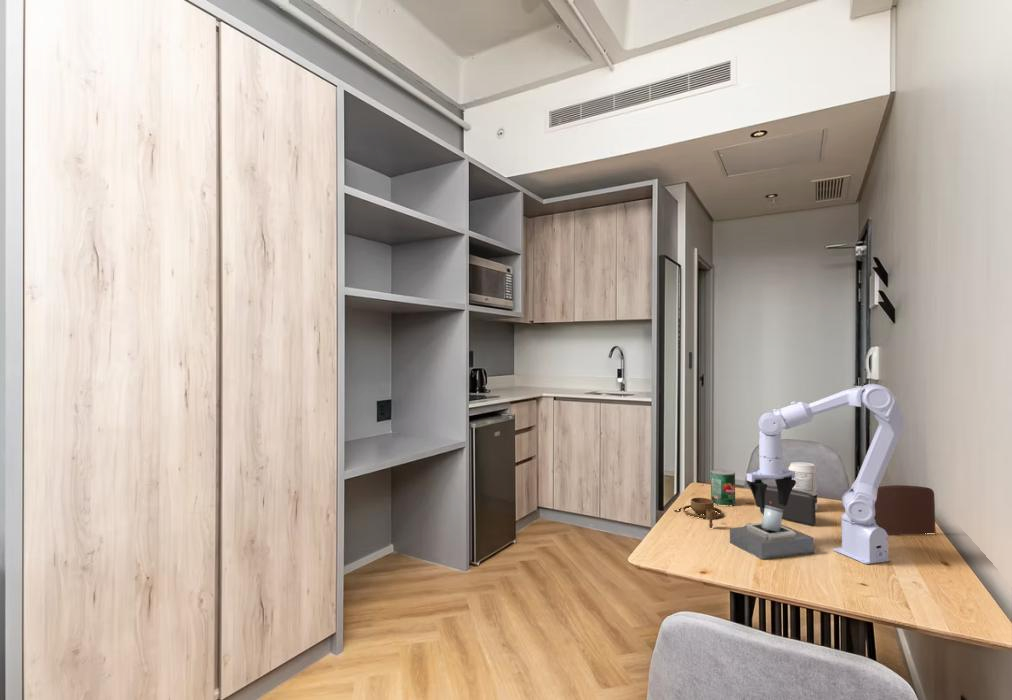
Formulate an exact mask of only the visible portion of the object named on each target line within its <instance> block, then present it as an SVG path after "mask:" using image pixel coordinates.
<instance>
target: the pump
mask: <svg viewBox="0 0 1012 700" xmlns="http://www.w3.org/2000/svg"><path fill="white" fill-rule="evenodd" d="M762 516H763V517H762V521H761V523H762V526H761V527H762V528H765V529H769V530H772V531H775V532H780V527H781V524H782V521H783V519H782V516H783V510H782V509H779V508H775V507H771V506H768V505H765V510H764V515H763V514H762Z"/></svg>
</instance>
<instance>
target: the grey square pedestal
mask: <svg viewBox="0 0 1012 700" xmlns="http://www.w3.org/2000/svg"><path fill="white" fill-rule="evenodd" d="M761 526H762V522H756V523H750V522H749V523H746V524H745V525H743V526H736V527H729V544H731V545H734V546H736V547H738V548H739V549H741V550H743V551H745V552H747V553H749V554H750V553H751V554H750V555H752V554H753V556H754V555H755V557H756V558H758V559H760V560H769V559H776V558H786V557H793V556H800V555H801V556H802V555H809V554H815V543H814V542H815V541H814V540H815V539H814V537H813V536H811V535H808V534H806V533H803V532H801V531H799V530H796V529H794V528H791V527H788V526H787V525H784V524H782V523H781V527H780V532H775V531H772V530H769V529H765V528H762V527H761Z"/></svg>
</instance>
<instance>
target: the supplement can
mask: <svg viewBox="0 0 1012 700" xmlns="http://www.w3.org/2000/svg"><path fill="white" fill-rule="evenodd" d="M788 470H791V471H795V478H794V479H793V480H795V481H796V484H795V486H794V487H793V489H795V490H799V491H803V492H806V493H809V494H811V495H813V496H814V498H815V511H817V510H818V469H817V468H816V465H815V464H814V463H810V462H803V461H792V462H790V464H789V466H788Z"/></svg>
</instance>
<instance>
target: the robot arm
mask: <svg viewBox="0 0 1012 700" xmlns="http://www.w3.org/2000/svg"><path fill="white" fill-rule="evenodd" d="M862 405H863V406H864V407H865V408H866V409H868V410H869V411H871V413H872V415H873V417H874V418H875V419H876V421H877V423H878V425H877V428H876V430H875V432H874V435H873V438H872V440H871V443H870V444H869V447H868V449H867V452H866V454H865V456H864V457H865V458H864V459H863V462H862V464H861V466H860V469H859V472H858V474H857V477H856V479H855V481H854V482H852V485H851V487H850V488H849V489H848V491H846V492H845V493H844V494H843V495H842V497H841V503H842V506H843V507H844V513H843V514H841V547H835V548H833V551H834V552H836V553H839V554H842V555H843V556H846V557H849V558H851V559H853V560H855V561H858V562H861V563H863V564H864V565H869V564H877V563H885V561H886V562H891V561H892V559H891V558H890V557H889V537H888V536H889V535H887V533H886V531H885V530H884V529H883V528H881V527H879V526H878V525H877V524H876V523H875V519H874V517H875V502H876V499H877V491H878V488H879V487H880V485H881V483H882V480H883V478H884V475H885V473H886V471H887V468H888V465H889V464H890V461H891V458H892V456H893V454H894V452H895V449H896V447H897V444H898V442H899V440H900V437H901V435H902V432H903V430H904V428H905V420H904V417H903V414H902V411H901V408H900V405H899V400H898V398H897V397H896V395H894V394H893V392H892V391H891V390H890V389H889V388H888V387H885V386H883V385H880V384H876V383H868V384H865V385H863V386H856V387H851V388H849V389H844V390H842V391H840V392H835V393H834V394H832V395H831V394H830V395H829V396H825V397H823V398H820V399H818V400H815V401H813V402H811V403H806V402H804V401H798V402H797V401H796V400H794V401H791V402H790V405H786V406H784V407H781V408H778V409H777V408H774V409H772V412H765V413H764V414H761V416H760V418H759V420H758V428H759V430H760V431H759V440H758V446H759V447H758V451H759V453H758V455H759V457H758V458H759V461H758V462H759V463H758V464H759V465H758V466H759V469H758V470H757V471H753V472H750V473H748V472H747V473H746V484H747V485H748V487H749V489H750V491H751V494H752V495H753V499H754V501H755V506H756V507H757V508H759V509H760V508H764V502H765V492H766V488H767V486H768V484H767V483H764V481H772V480H775V484H776V485H775V486H776V487H777V490H778V501H779V504H781V505H784V506H787V502H788V498H789V495H790V493H791V491H792V489H793V487H794V486H795V484H796V481H795V480H793V479H794V478H795V471H791V470H789V469H786V470H785V469H783V468H784V466H783V464H784V462H783V459H784V458H783V440H782V430H789V429H792V428H795V427H799V426H801V425H804V424H807V423H810V422H811V421H812V420H813V418H814V416H816V415H818V414H821V413H825V412H828V411H831V410H834V409H838V408H842V407H844V406H851V407H857V408H862Z"/></svg>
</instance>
